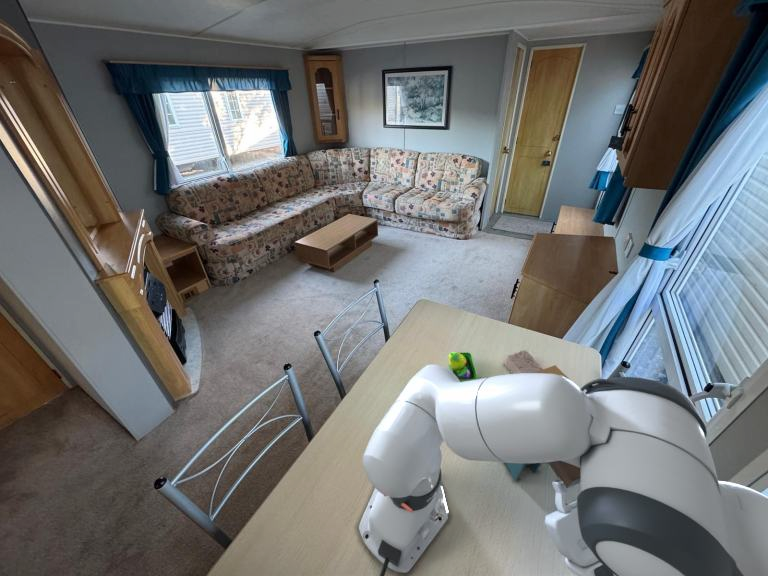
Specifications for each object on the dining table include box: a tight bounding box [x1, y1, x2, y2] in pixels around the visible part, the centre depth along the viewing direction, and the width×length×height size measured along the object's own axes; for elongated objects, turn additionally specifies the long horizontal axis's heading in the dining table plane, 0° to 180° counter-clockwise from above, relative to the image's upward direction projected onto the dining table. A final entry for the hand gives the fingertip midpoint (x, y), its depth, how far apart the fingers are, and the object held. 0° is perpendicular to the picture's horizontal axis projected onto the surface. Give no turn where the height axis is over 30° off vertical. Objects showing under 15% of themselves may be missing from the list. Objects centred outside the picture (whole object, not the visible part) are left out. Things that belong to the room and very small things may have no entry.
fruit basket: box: [448, 351, 478, 382], centre depth 101 cm, size 11×9×11 cm
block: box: [547, 461, 581, 489], centre depth 70 cm, size 22×4×4 cm, turn 19°
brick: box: [504, 349, 544, 374], centre depth 101 cm, size 17×8×5 cm, turn 20°
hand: (575, 472), depth 61 cm, fingers open, 8 cm apart
